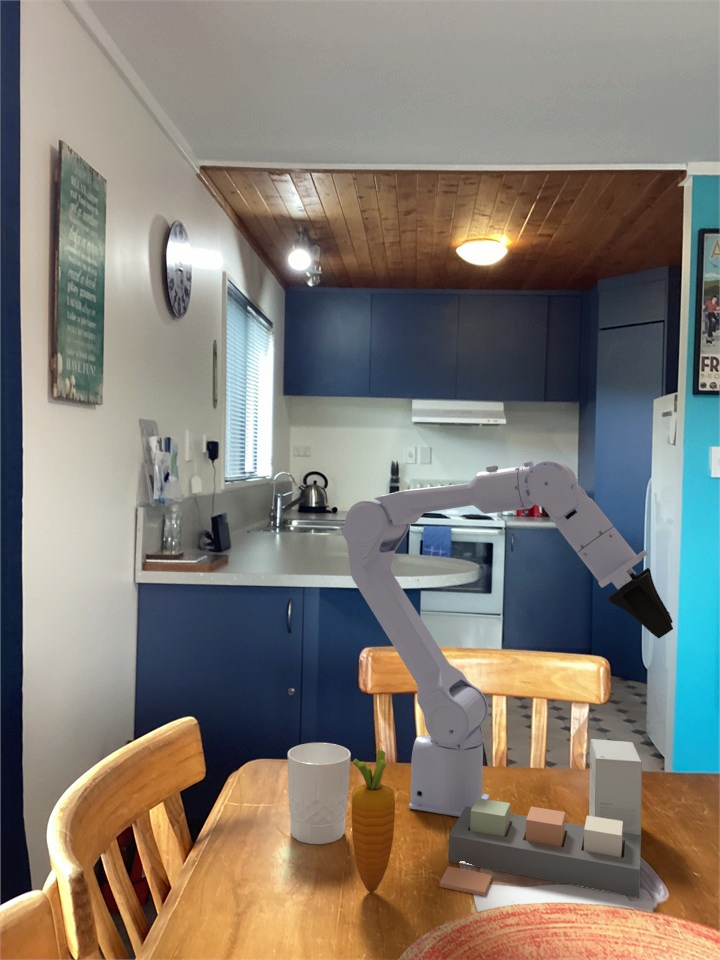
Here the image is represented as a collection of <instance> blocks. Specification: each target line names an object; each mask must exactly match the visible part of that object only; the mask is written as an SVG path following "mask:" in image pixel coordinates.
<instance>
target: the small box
mask: <svg viewBox="0 0 720 960" xmlns="http://www.w3.org/2000/svg"><path fill="white" fill-rule="evenodd" d="M642 773H643V762H642V759H641V757H640V755H639V753H638V751H637V749H636V747H635V745H634V743H633V742H631V741H621V740H611V739H610V740H609V739H608V740H607V739H596V738H591V739H590V740H589V792H588V793H589V795H588V796H589V797H588V799H589V800H588V803H589V804H588V808H589V809H588V816H594V817H600V818H606V819H612V820H619V821H623V832H626V833H632V834H638V835H641V836H642V787H643V786H642V783H643V781H642V780H643V779H642V778H643V775H642Z"/></svg>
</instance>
